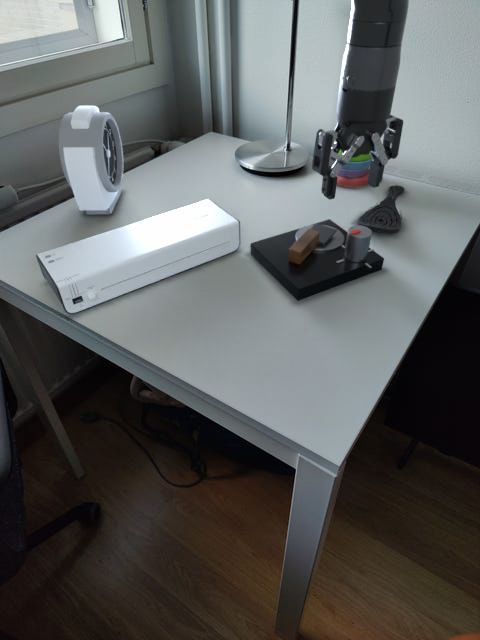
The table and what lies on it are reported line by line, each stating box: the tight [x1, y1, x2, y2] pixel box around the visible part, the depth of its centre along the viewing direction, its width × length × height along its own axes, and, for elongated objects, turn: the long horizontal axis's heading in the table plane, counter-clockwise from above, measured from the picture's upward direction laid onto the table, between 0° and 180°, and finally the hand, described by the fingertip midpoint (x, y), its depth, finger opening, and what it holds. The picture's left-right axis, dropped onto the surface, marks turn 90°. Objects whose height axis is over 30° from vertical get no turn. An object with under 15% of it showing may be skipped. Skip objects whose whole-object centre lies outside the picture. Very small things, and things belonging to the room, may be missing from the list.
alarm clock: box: [58, 105, 125, 215], centre depth 97 cm, size 18×8×20 cm, turn 179°
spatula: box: [289, 222, 337, 264], centre depth 83 cm, size 12×4×3 cm, turn 145°
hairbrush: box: [356, 184, 405, 235], centre depth 97 cm, size 8×4×25 cm
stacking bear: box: [332, 140, 374, 188], centre depth 105 cm, size 11×10×18 cm
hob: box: [250, 218, 385, 302], centre depth 84 cm, size 18×17×3 cm
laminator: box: [35, 198, 241, 315], centre depth 82 cm, size 34×12×6 cm, turn 124°
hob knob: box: [344, 225, 373, 262], centre depth 80 cm, size 4×4×5 cm
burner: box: [296, 224, 344, 252], centre depth 86 cm, size 9×9×1 cm
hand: (351, 191), depth 73 cm, fingers open, 8 cm apart
